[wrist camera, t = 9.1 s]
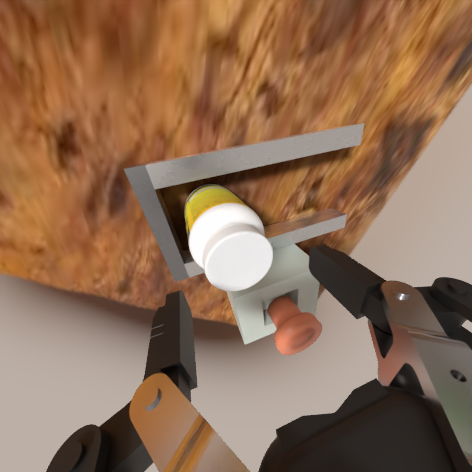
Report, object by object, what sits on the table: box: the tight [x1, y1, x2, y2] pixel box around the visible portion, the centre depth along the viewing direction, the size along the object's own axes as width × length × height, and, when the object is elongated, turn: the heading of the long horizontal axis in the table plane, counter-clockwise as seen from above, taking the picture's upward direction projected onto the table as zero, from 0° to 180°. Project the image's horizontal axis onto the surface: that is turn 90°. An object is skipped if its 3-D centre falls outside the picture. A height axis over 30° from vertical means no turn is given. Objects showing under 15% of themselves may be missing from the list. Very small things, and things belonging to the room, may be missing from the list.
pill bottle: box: [184, 184, 273, 291], centre depth 16 cm, size 6×6×11 cm
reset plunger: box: [267, 296, 322, 355], centre depth 18 cm, size 5×5×4 cm
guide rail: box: [124, 123, 364, 282], centre depth 20 cm, size 24×12×3 cm, turn 99°
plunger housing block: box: [227, 244, 320, 344], centre depth 23 cm, size 10×9×8 cm
